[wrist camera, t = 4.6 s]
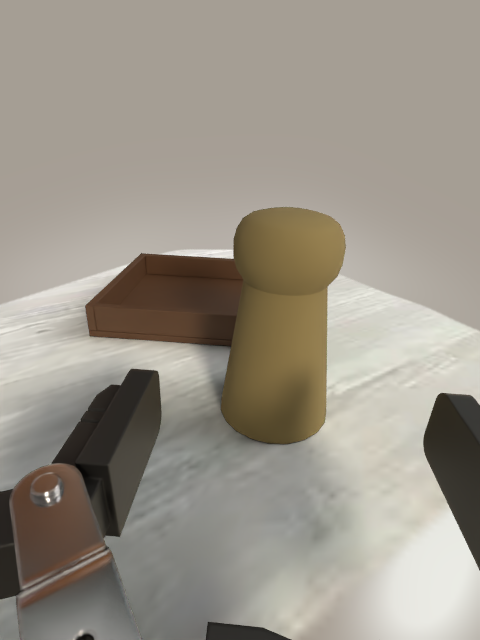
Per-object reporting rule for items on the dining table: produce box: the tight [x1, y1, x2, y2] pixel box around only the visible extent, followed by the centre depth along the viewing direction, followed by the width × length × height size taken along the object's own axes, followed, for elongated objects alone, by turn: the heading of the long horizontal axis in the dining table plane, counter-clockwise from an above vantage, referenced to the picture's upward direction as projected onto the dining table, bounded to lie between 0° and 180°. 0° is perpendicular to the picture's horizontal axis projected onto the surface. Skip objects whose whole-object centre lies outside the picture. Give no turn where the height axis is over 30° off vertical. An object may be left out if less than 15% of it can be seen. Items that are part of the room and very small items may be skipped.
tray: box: [85, 253, 243, 346], centre depth 33 cm, size 15×13×2 cm
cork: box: [221, 207, 346, 444], centre depth 20 cm, size 6×6×11 cm
